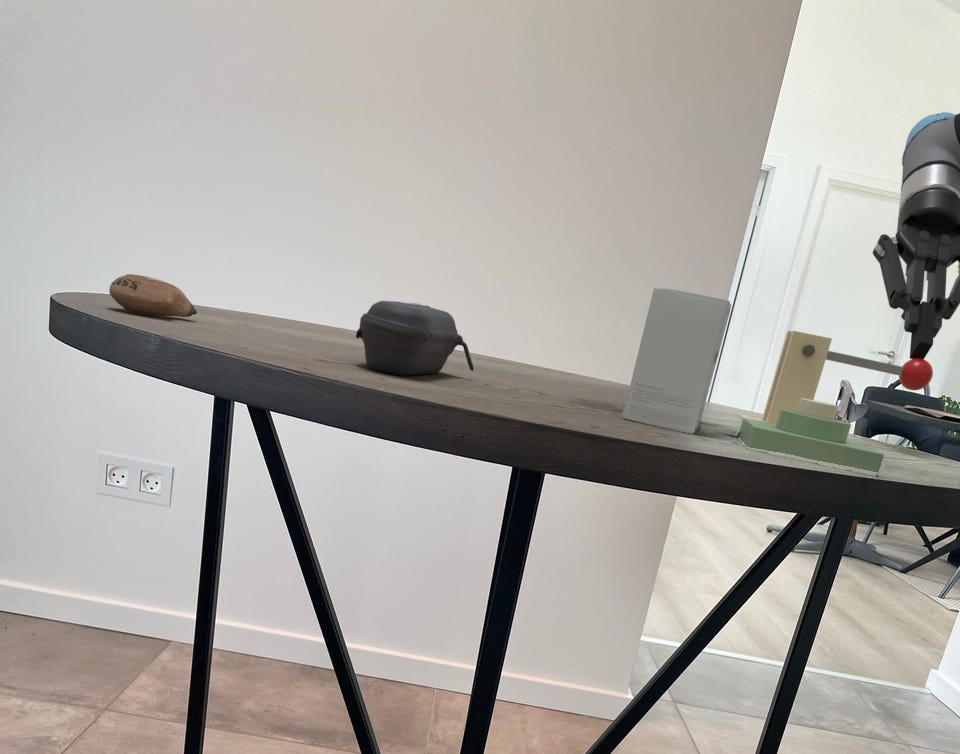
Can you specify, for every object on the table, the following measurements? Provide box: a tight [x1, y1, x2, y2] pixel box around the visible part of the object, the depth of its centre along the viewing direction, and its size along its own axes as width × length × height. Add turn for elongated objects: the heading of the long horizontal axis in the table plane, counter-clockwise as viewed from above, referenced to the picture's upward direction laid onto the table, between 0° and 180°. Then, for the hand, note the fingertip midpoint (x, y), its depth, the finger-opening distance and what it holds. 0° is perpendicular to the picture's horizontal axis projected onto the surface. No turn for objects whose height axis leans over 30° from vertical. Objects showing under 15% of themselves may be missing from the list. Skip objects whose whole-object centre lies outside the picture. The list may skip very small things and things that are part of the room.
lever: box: [825, 350, 934, 391], centre depth 112 cm, size 16×4×4 cm, turn 80°
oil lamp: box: [109, 273, 198, 318], centre depth 102 cm, size 9×4×8 cm
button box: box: [737, 409, 885, 473], centre depth 93 cm, size 12×10×4 cm
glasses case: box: [355, 300, 475, 377], centre depth 97 cm, size 18×10×8 cm, turn 168°
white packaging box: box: [622, 286, 732, 435], centre depth 95 cm, size 7×7×13 cm
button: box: [797, 398, 840, 421], centre depth 92 cm, size 4×4×2 cm
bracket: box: [737, 330, 833, 424], centre depth 114 cm, size 10×8×12 cm
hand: (921, 351), depth 111 cm, fingers closed
